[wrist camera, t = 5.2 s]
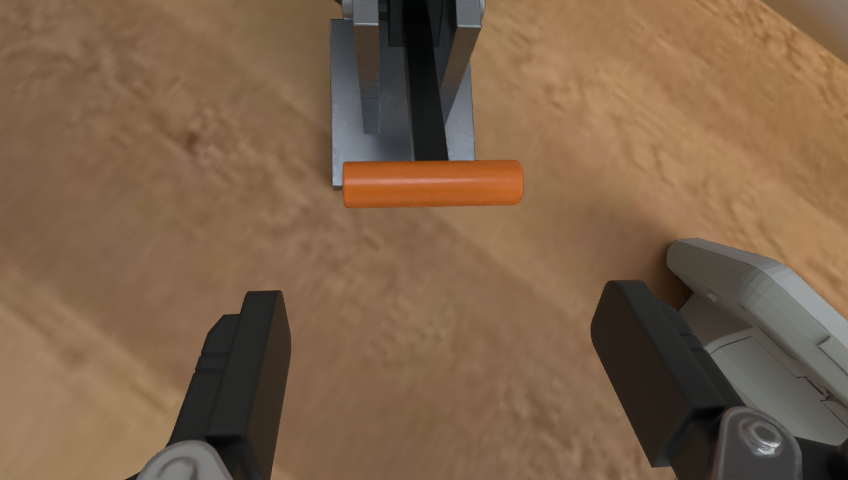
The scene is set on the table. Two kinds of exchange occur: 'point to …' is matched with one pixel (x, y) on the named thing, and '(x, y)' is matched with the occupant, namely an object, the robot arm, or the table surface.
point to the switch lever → (426, 135)
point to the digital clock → (768, 336)
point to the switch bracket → (396, 85)
